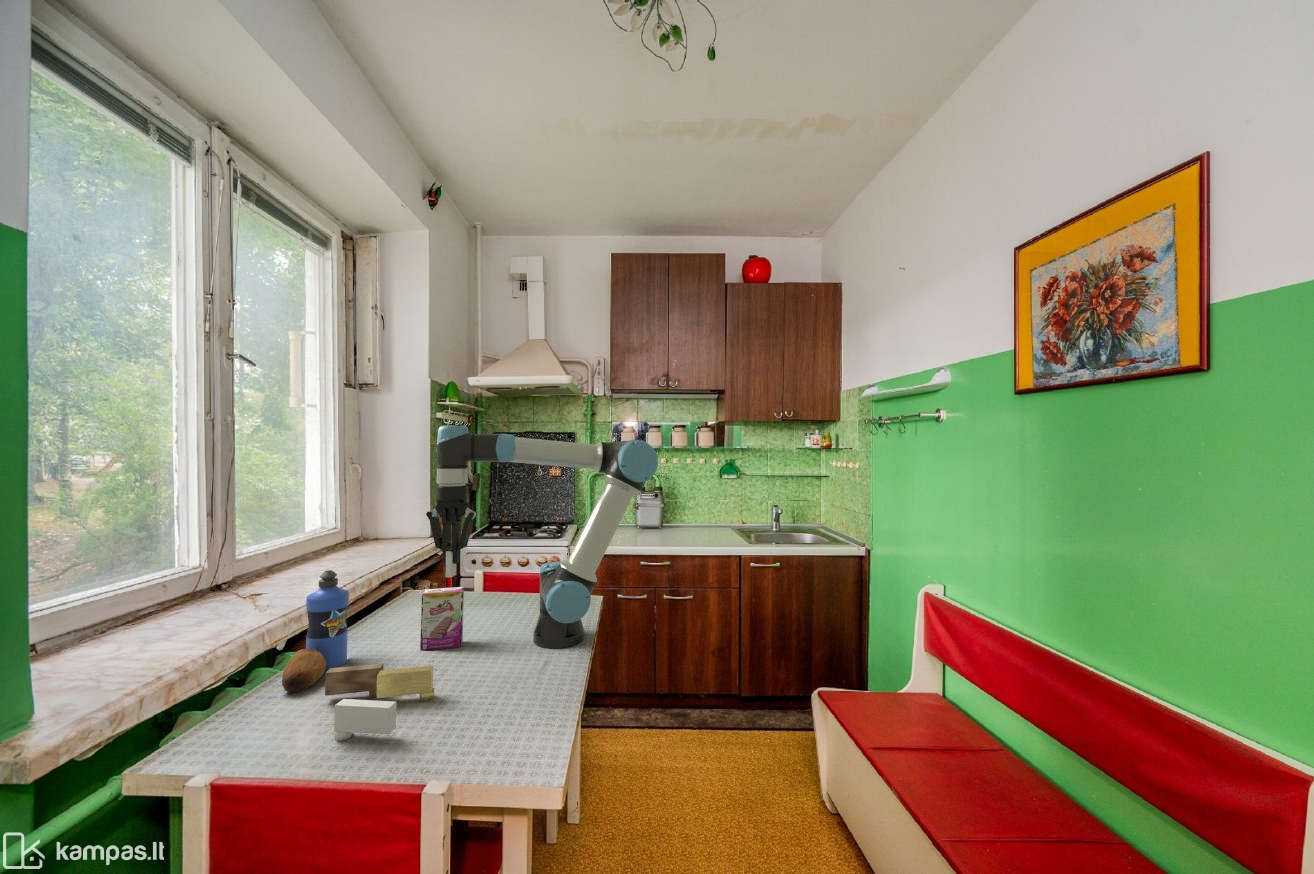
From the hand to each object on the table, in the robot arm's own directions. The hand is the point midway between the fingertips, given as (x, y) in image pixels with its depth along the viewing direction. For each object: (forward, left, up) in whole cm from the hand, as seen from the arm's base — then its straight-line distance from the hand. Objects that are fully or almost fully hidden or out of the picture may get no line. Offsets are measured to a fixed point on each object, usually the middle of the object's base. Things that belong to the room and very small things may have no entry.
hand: (450, 575), depth 130 cm
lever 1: (+13, +17, -23) cm, 32 cm away
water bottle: (+33, +1, -25) cm, 41 cm away
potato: (+30, +12, -25) cm, 41 cm away
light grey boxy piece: (+1, +32, -23) cm, 40 cm away
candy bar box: (+10, -15, -25) cm, 31 cm away
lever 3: (+1, +17, -23) cm, 29 cm away
